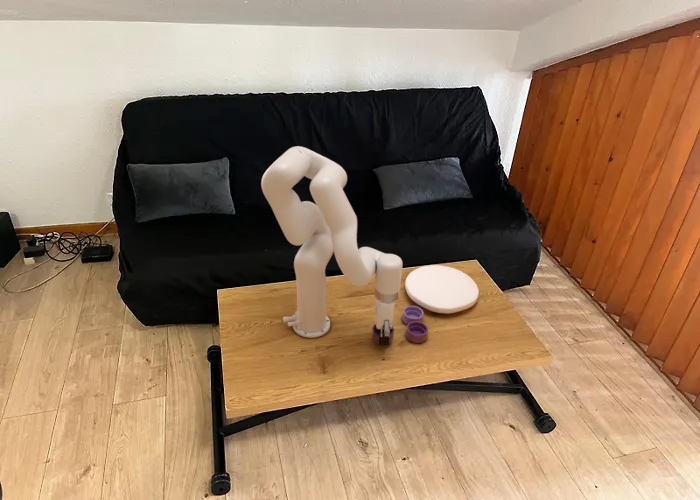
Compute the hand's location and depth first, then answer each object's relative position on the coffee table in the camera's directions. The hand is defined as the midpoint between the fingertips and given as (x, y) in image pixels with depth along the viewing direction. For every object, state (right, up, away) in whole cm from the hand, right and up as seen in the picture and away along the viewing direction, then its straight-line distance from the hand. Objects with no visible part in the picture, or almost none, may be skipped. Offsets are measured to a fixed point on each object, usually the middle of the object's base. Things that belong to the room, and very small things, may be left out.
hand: (382, 335), depth 159 cm
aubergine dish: (0, -1, +1) cm, 1 cm away
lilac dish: (+11, +3, +11) cm, 16 cm away
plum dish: (+11, -1, +4) cm, 12 cm away
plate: (+23, +11, +24) cm, 35 cm away
